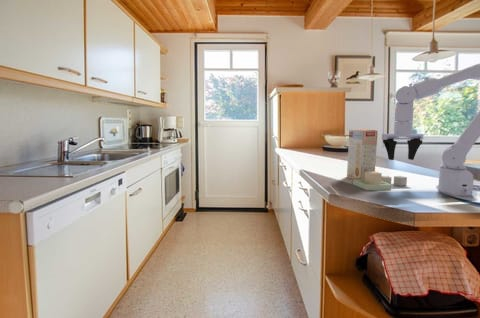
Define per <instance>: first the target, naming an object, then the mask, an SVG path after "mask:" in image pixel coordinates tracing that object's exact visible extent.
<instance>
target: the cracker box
mask: <svg viewBox="0 0 480 318" xmlns="http://www.w3.org/2000/svg"><path fill="white" fill-rule="evenodd" d="M348 132H349V133H348V147H347V148H348V152H347V168H346V169H347V170H346V178H348V179H349V180H352V181H353V179H365V172H366V171H376V159H377V148H378V147H377V146H378V130H375V129H365V128H364V129H357V128H354V129H349V131H348Z"/></svg>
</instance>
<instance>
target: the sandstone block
mask: <svg viewBox="0 0 480 318" xmlns="http://www.w3.org/2000/svg"><path fill="white" fill-rule="evenodd" d="M381 176H383V175H382V172H379V171H376V170H375V171H366V172H365V182H364V184H367V185H380V184H381Z"/></svg>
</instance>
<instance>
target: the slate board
mask: <svg viewBox="0 0 480 318" xmlns="http://www.w3.org/2000/svg"><path fill="white" fill-rule="evenodd" d="M395 189H396V190H398V189H399V190H403V189H404V190H406V189H407V190H409V189H410V190H411V187H410V186H407V185H404V186H399V185H394V183H391V190H395Z"/></svg>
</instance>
